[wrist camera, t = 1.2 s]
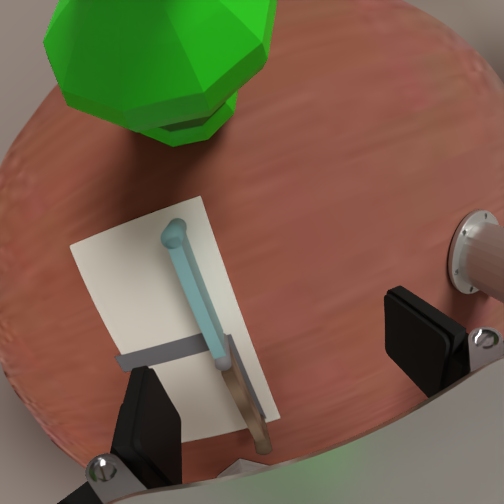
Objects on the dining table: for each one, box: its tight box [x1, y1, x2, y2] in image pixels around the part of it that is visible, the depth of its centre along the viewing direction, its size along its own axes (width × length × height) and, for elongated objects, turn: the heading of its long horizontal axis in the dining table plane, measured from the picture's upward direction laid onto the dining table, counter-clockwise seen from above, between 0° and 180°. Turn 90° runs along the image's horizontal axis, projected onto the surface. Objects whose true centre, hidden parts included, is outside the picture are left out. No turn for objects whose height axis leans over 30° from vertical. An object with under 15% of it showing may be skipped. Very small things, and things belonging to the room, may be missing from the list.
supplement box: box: [217, 458, 269, 478], centre depth 35 cm, size 7×7×13 cm
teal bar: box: [161, 218, 232, 371], centre depth 28 cm, size 15×2×5 cm, turn 17°
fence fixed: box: [221, 345, 272, 455], centre depth 32 cm, size 14×2×6 cm, turn 17°
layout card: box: [70, 196, 280, 443], centre depth 32 cm, size 31×16×1 cm, turn 17°
